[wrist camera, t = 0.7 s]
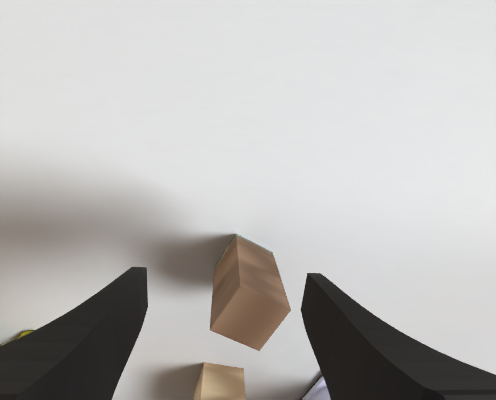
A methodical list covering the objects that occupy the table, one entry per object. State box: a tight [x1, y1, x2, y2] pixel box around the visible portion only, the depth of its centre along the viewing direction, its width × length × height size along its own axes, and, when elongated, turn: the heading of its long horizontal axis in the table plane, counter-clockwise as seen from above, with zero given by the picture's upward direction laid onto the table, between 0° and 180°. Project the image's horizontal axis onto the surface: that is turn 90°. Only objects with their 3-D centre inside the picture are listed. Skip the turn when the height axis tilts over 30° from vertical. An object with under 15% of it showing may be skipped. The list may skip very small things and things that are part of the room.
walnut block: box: [210, 234, 291, 351], centre depth 20 cm, size 4×4×7 cm
